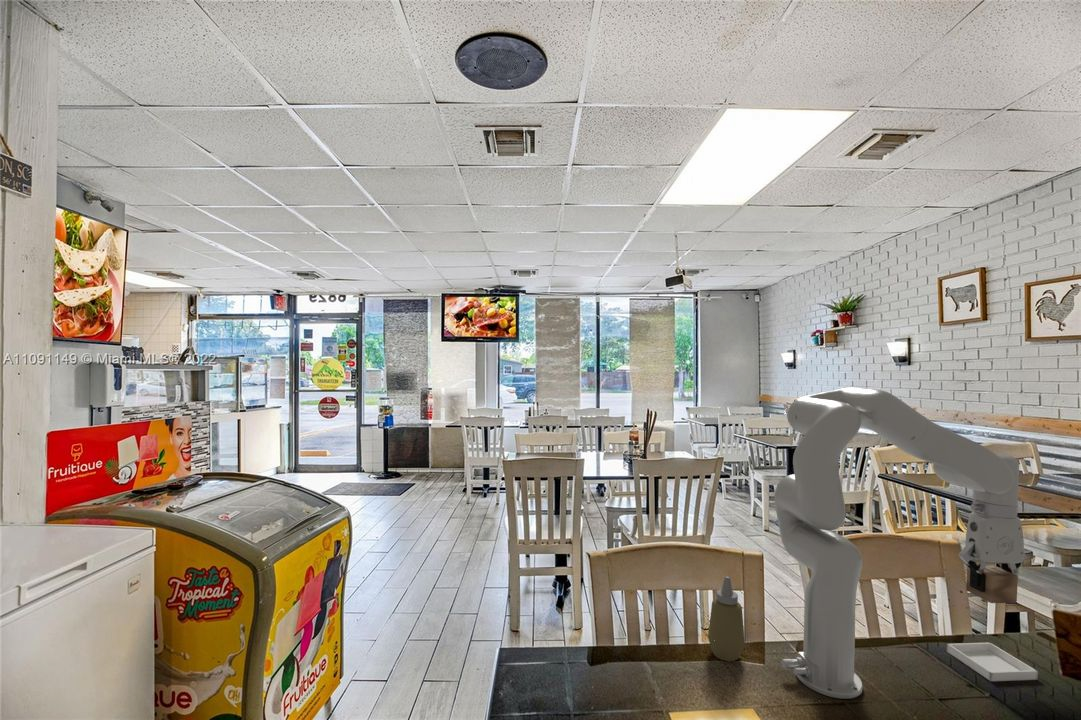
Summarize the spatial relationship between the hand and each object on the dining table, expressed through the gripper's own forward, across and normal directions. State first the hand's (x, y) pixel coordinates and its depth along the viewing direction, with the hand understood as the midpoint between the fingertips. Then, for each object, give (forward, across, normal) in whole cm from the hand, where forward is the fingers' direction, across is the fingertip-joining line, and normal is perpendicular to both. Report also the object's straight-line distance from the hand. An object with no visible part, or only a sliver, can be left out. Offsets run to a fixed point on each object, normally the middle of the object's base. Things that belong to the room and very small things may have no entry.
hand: (991, 588), depth 114 cm
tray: (+18, +1, 0) cm, 18 cm away
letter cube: (+2, 0, 0) cm, 2 cm away
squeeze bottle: (+19, -57, +8) cm, 61 cm away
